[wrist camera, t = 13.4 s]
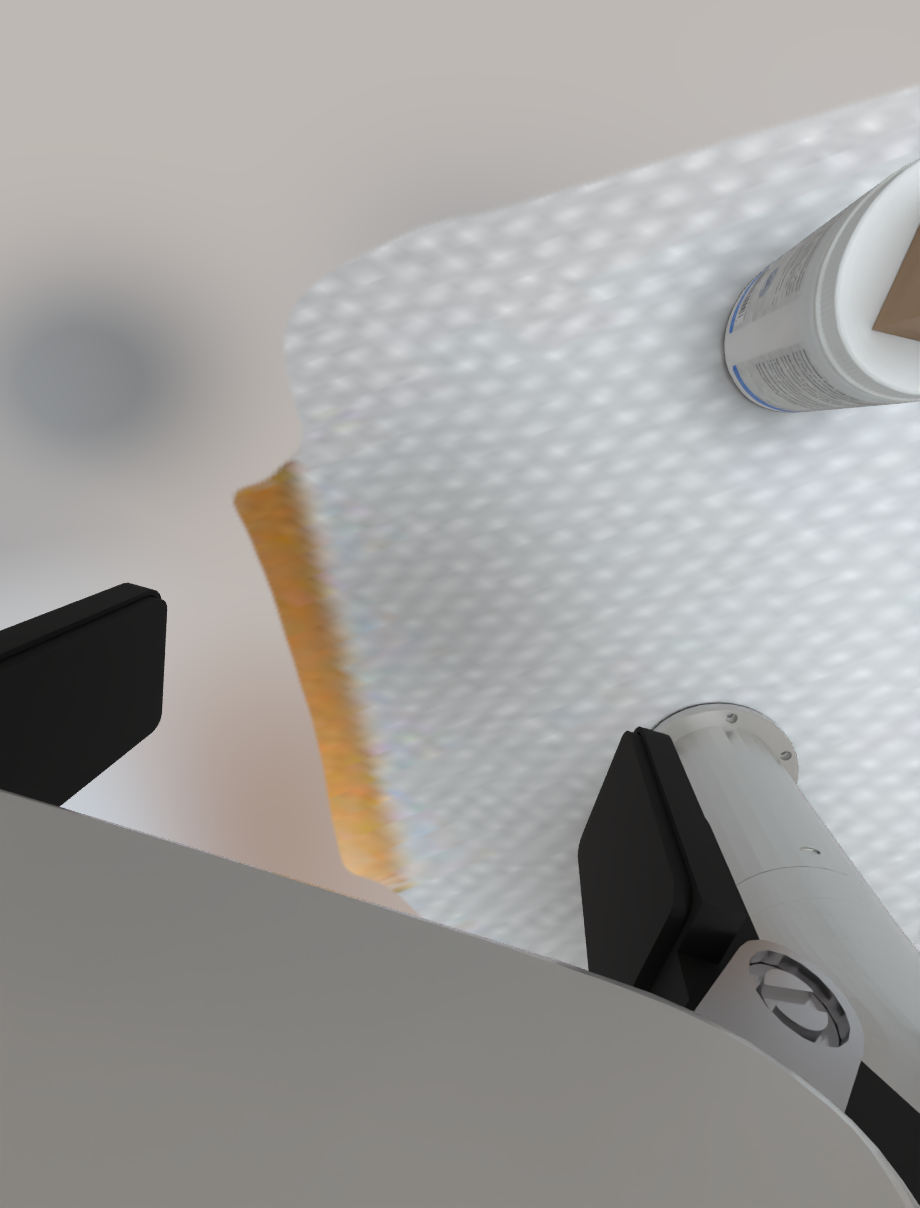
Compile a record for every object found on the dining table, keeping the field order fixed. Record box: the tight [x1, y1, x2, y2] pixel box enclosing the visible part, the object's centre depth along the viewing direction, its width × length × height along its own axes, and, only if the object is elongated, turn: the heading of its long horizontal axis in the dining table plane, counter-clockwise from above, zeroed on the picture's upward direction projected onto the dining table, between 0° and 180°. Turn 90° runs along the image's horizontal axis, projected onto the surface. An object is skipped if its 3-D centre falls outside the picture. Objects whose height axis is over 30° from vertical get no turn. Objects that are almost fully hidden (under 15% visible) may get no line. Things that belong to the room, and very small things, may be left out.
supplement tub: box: [724, 159, 920, 412], centre depth 28 cm, size 10×10×15 cm
